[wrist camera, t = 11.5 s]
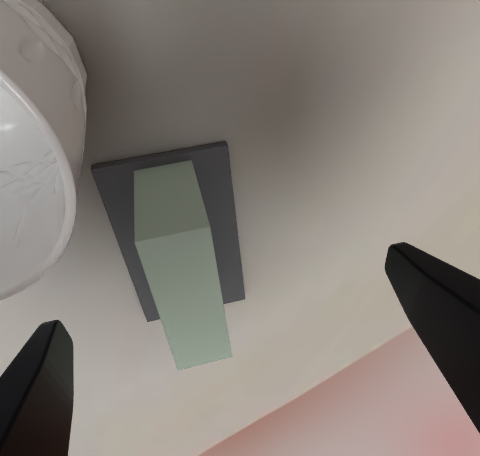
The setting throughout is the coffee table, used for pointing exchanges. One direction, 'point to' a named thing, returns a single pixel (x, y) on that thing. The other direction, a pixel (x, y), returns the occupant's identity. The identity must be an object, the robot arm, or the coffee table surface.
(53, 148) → the white cup
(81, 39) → the coffee table surface
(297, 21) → the coffee table surface
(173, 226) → the sage rectangular block
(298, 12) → the coffee table surface
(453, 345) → the robot arm
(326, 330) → the coffee table surface
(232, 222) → the dark gray panel
